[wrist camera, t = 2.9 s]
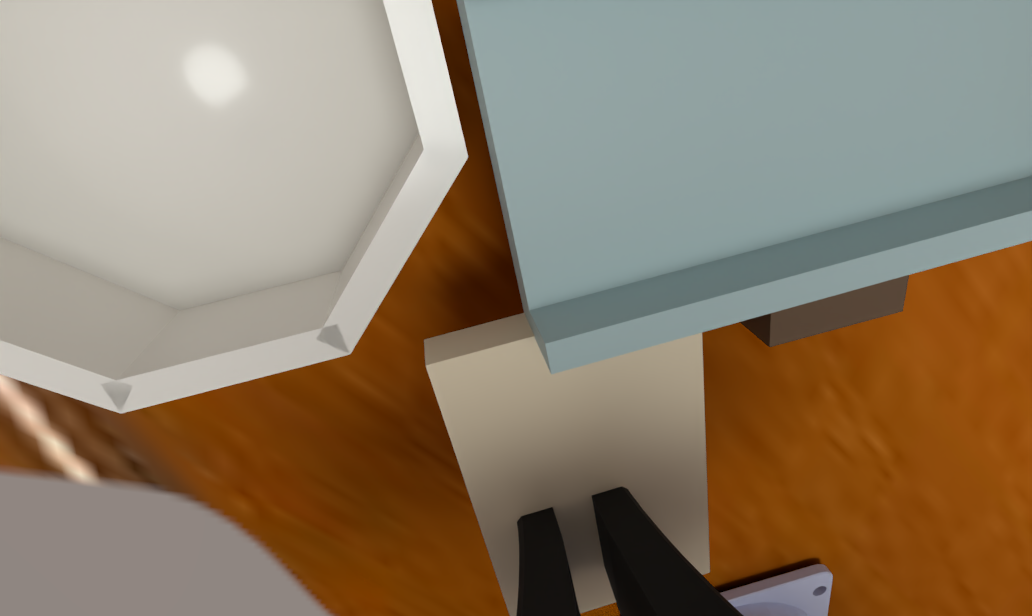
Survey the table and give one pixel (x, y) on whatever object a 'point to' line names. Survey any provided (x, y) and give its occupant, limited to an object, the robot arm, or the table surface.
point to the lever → (703, 221)
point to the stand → (830, 312)
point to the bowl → (209, 185)
